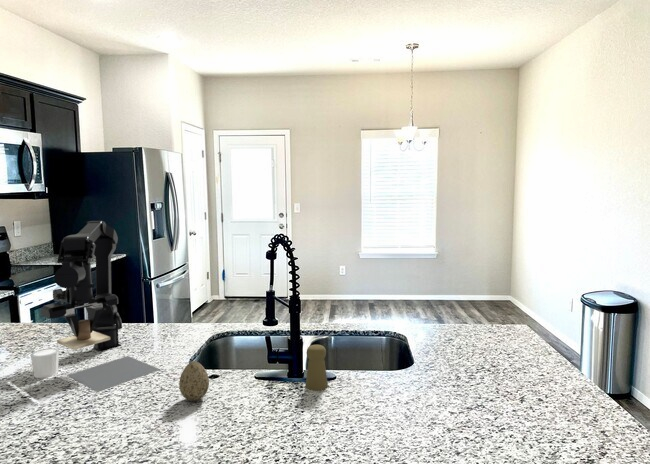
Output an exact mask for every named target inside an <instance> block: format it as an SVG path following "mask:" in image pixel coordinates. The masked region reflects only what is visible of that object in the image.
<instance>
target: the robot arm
mask: <svg viewBox="0 0 650 464" xmlns="http://www.w3.org/2000/svg"><path fill="white" fill-rule="evenodd" d="M118 241H119V237H118V234H117V232H116V230H115V228H114V227H111V226H109V225H108V224H107V223H106V222H105V221H103V220H90V221H86V224H85V226H84V227H83V228H82V229H80V230H79V232H78V233H76V234H70V235H67V236H65V237H63V239H62V240H61V242H60V245H59V246H60V247H59V252H58V258H57V260H56V261H57V264H61V267H60V268H58V269H57V270H56V271H55V273H54V276H53V278H54V279H53V280H54V283H55V284H56V285H57V286H58V287H60V288H56V289H52V298H53V301H54V302H55V303H50V304H46V305H43V306H42V308H41V309H40V312H41V314H40V315H41V316H42V317H44V318H47V319H50V320H52V319H57V318H64V319H65V321H66V323H68V325H69V327H70V330H71V331H72V333H73V336H75V337H78V321H79V314H78V313H75V312H76V311H77V310H79V309H84V308H85V310H86V313H87V320H90V332H91V333H92V331H95V332H98V333H101V334H104V335H107V336H109V337H110V340H107V341H104V342H100V343H97V344H93V349H95V350H98V351H101V352H105V351H108V350H113V349H115V348H118V347H122V344H121V343H120V342H119V341H120V340H119V330H122V329H123V322H122V318H121V316H120V314H119V312H118V307H117V305H118V304H119V297H118V296H117V295H116V294H113V293H112V256H113V254H114V252H115V251H116V250H117V249H116V248H117V244H118ZM94 256H95V283H94V282H92V267H91V261H92V259H94ZM93 288H95V297H93ZM63 289H65V290H63ZM58 301H60V303H58Z"/></svg>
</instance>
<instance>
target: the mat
mask: <svg viewBox="0 0 650 464" xmlns="http://www.w3.org/2000/svg"><path fill="white" fill-rule="evenodd" d="M160 370H161V368H158V367H155V366H153V365H151V364H148V363H146V362H144V361H141V360H139V359H136V358H135V357H132V356H129V355H126V356H124V357H121V358H117V359H115V360H110V361H108V362H104V363H102V364H101V363H100V364H99V365H95V366H92V367H88V368H85V369H82V370H80V371H76V372H73V373H70V374H67V375H66V376H67V377H69V378H71V379H73V380H75V381H76V382H78V383H80V384H82V385H84V386H86V388H90V389H91V390H93V391H94V392H96V393H98V392H103V391H105V390H108V389H110V388H113V387H116V386H119V385H121V384H124V383H127V382H130V381H133V380H135V379H138V378H141V377H143V376H147V375H149V374H152V373H155V372H158V371H160Z"/></svg>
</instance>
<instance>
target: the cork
mask: <svg viewBox="0 0 650 464" xmlns="http://www.w3.org/2000/svg"><path fill="white" fill-rule="evenodd" d="M326 355H327V349H326V347H325V346H324V345H321V344H312V345H309V346H308V347H307V349H306V357H307V359H308V362H307V372H306V380H305V388H306V389H307V391H308V390H309V391H311V392H322V391H325V390H326V389H327V388H328V387H329V383H328V377H327V370H326V363H325V358H326Z"/></svg>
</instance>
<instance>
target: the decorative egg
mask: <svg viewBox="0 0 650 464" xmlns="http://www.w3.org/2000/svg"><path fill="white" fill-rule="evenodd" d="M209 377H210V376H209V375H208V372H207V370H206V369H205V367H204V366H203V365H202V364H201V363H200V362H198V361H196V360H192V361H190V362H188V364H187V365H186V366H185V367H184V368H183V371H182V372H181V374H180V377H179V383H178V388H179V391H180V393H181V395H182V397H183V398H184V399H186V400H188V401H190V402H195V401H196V402H197V401H199V400H201V399H202V398H204V397H205V396H206V394H207V392H208V390H209V385H210V379H209Z"/></svg>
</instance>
